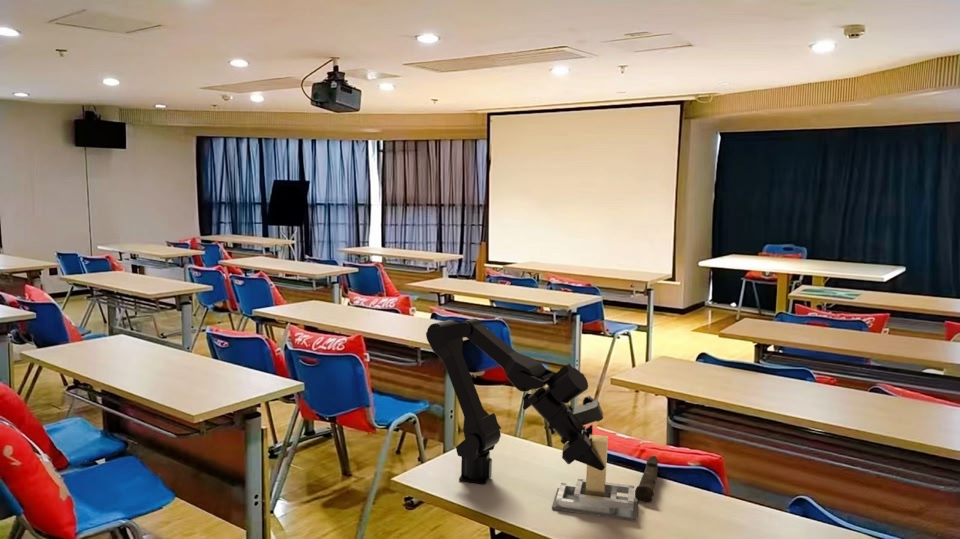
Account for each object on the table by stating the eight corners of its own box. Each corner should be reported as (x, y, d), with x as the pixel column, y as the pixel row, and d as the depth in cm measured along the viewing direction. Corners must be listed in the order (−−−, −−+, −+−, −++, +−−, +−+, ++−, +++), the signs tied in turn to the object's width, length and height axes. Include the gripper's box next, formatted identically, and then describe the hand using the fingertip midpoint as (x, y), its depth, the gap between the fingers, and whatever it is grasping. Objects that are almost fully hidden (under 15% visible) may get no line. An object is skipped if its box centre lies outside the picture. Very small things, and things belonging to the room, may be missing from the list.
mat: (551, 509, 145) (551, 506, 145) (557, 490, 154) (557, 487, 154) (636, 521, 141) (636, 518, 141) (637, 501, 150) (637, 498, 150)
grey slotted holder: (555, 506, 145) (556, 493, 145) (560, 488, 154) (561, 476, 153) (632, 517, 141) (633, 503, 141) (633, 498, 150) (634, 485, 149)
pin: (585, 497, 146) (588, 440, 144) (586, 489, 150) (589, 434, 148) (603, 500, 145) (607, 442, 143) (604, 492, 149) (608, 436, 147)
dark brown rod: (652, 505, 149) (653, 485, 148) (634, 501, 150) (635, 481, 150) (665, 473, 166) (666, 455, 165) (648, 470, 167) (649, 452, 167)
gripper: (581, 402, 136) (633, 459, 135) (583, 377, 154) (629, 427, 154) (541, 435, 138) (592, 492, 138) (547, 407, 156) (593, 456, 156)
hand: (603, 464), depth 146 cm, fingers closed on pin, 4 cm apart
